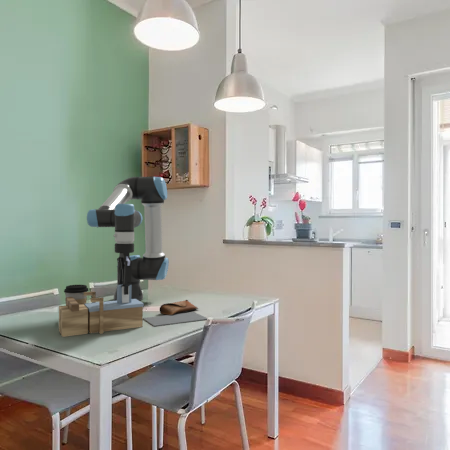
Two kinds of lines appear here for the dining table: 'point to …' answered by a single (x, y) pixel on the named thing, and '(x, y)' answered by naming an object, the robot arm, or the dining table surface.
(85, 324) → the toolbox
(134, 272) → the robot arm
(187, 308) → the sunglasses case
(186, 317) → the mat
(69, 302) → the key
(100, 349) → the dining table surface
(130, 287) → the lid
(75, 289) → the coffee cup
